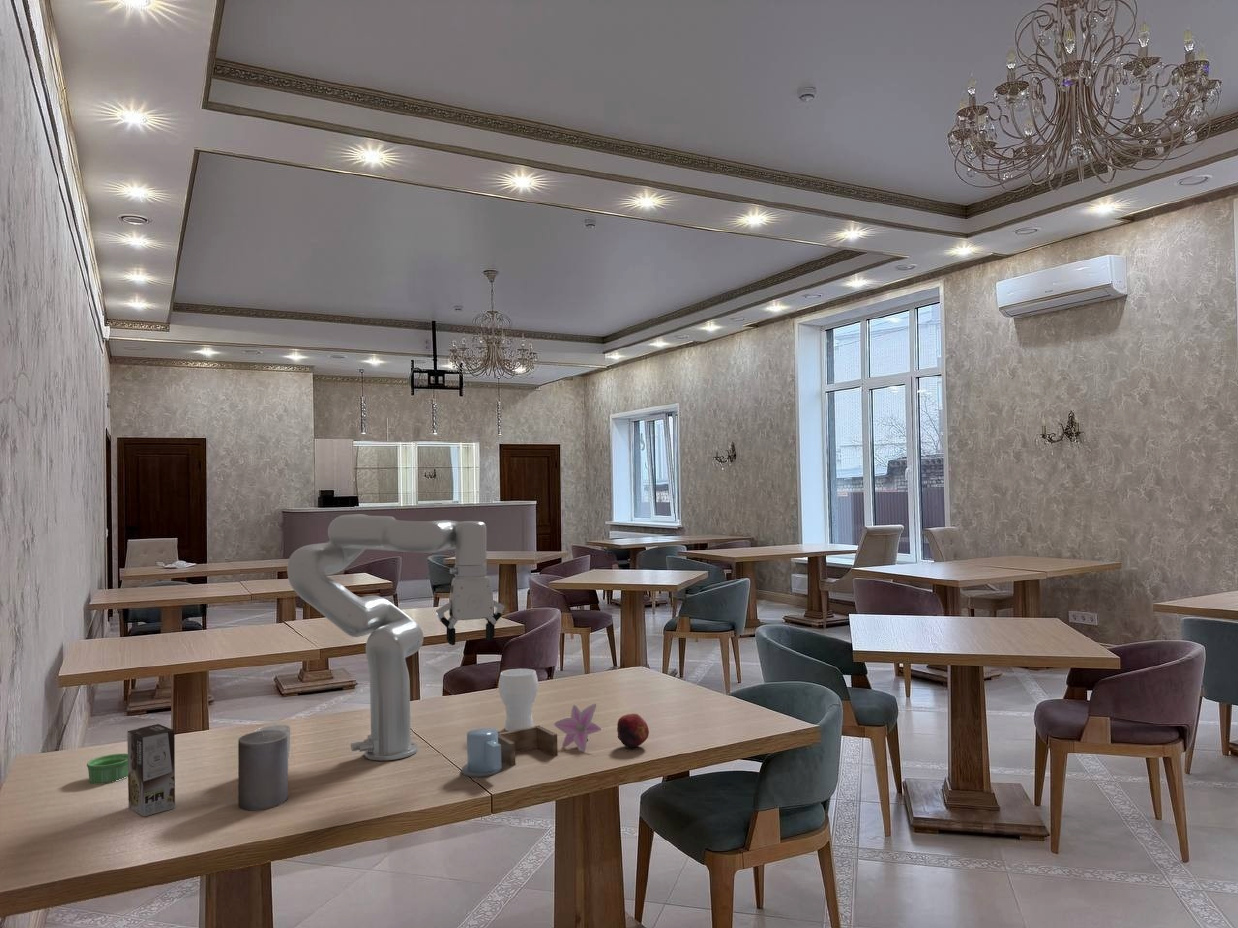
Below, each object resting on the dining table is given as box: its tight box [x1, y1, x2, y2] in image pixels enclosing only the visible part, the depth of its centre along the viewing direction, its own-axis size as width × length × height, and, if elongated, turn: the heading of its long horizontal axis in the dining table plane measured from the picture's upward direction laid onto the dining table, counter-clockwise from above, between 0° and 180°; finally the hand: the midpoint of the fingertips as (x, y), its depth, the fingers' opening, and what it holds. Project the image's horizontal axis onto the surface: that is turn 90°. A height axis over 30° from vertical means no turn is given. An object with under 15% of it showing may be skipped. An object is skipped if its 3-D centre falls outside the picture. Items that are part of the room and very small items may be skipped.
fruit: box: [616, 713, 650, 749], centre depth 204 cm, size 8×8×8 cm
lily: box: [553, 703, 602, 753], centre depth 207 cm, size 12×12×10 cm
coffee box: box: [126, 723, 176, 818], centre depth 172 cm, size 9×6×16 cm
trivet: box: [461, 763, 503, 778], centre depth 189 cm, size 9×9×1 cm
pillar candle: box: [237, 730, 289, 811], centre depth 174 cm, size 10×10×15 cm
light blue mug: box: [466, 727, 503, 773], centre depth 187 cm, size 7×12×8 cm, turn 32°
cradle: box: [498, 725, 559, 766], centre depth 200 cm, size 12×10×5 cm
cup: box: [498, 668, 539, 732], centre depth 223 cm, size 11×11×15 cm
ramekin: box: [86, 753, 128, 784], centre depth 192 cm, size 9×9×4 cm
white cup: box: [253, 724, 291, 760], centre depth 192 cm, size 8×8×10 cm
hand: (470, 642), depth 201 cm, fingers open, 9 cm apart
